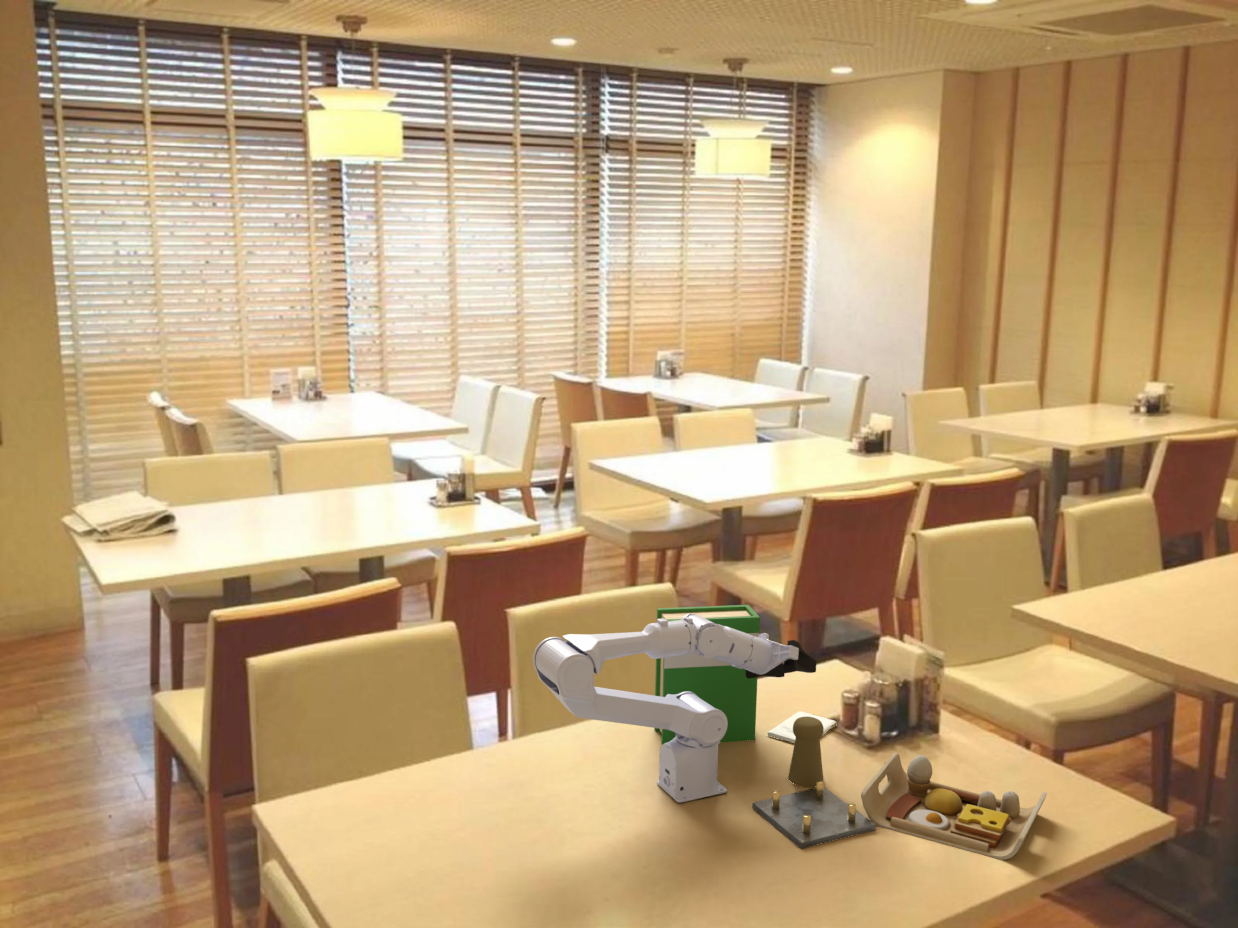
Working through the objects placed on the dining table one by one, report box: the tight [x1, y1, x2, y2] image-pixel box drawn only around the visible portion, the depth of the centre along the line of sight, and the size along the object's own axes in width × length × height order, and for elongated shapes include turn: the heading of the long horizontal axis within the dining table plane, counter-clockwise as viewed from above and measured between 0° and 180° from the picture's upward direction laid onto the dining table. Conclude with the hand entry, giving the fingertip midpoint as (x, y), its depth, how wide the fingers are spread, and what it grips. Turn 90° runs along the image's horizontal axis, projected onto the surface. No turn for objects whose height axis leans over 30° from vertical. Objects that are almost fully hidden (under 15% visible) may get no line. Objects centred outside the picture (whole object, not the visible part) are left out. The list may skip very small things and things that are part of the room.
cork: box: [787, 716, 824, 788], centre depth 192 cm, size 6×6×11 cm
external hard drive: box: [766, 710, 837, 743], centre depth 213 cm, size 2×8×12 cm
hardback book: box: [653, 604, 761, 746], centre depth 209 cm, size 18×7×24 cm, turn 100°
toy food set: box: [860, 752, 1048, 861], centre depth 180 cm, size 25×18×8 cm
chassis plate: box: [752, 780, 877, 850], centre depth 179 cm, size 14×14×4 cm
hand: (798, 669), depth 196 cm, fingers open, 7 cm apart
